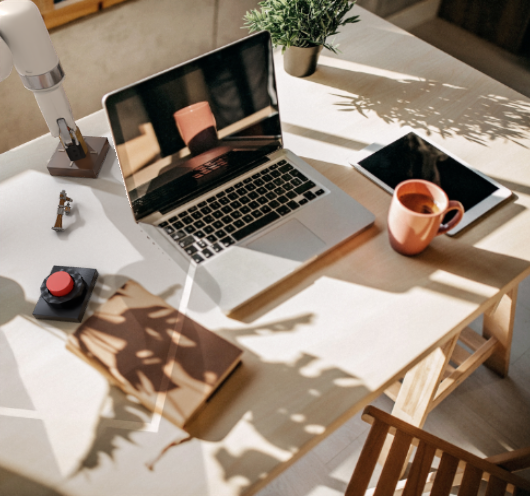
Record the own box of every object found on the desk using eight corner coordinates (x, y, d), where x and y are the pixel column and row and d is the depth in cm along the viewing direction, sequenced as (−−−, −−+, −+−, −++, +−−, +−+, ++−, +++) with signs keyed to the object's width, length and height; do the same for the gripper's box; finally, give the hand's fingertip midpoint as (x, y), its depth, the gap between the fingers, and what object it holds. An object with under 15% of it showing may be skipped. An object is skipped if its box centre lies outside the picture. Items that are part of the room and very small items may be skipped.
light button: (46, 295, 83) (42, 290, 82) (55, 275, 85) (51, 270, 84) (69, 297, 83) (65, 292, 81) (77, 277, 85) (73, 272, 84)
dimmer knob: (90, 154, 104) (80, 133, 99) (69, 161, 103) (59, 140, 98) (85, 141, 106) (76, 120, 101) (65, 148, 105) (54, 127, 100)
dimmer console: (50, 175, 104) (46, 166, 102) (67, 143, 110) (63, 133, 108) (96, 178, 103) (92, 169, 101) (110, 145, 109) (107, 136, 107)
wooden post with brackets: (76, 195, 99) (66, 188, 95) (70, 234, 98) (59, 229, 93) (68, 195, 99) (57, 188, 95) (61, 234, 98) (50, 228, 93)
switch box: (35, 319, 84) (27, 309, 81) (57, 270, 90) (49, 259, 87) (81, 323, 83) (73, 313, 81) (99, 273, 89) (93, 262, 86)
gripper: (14, 52, 93) (50, 126, 107) (26, 106, 83) (63, 179, 98) (55, 42, 94) (84, 116, 109) (70, 94, 85) (101, 167, 99)
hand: (74, 145), depth 103 cm, fingers open, 7 cm apart
